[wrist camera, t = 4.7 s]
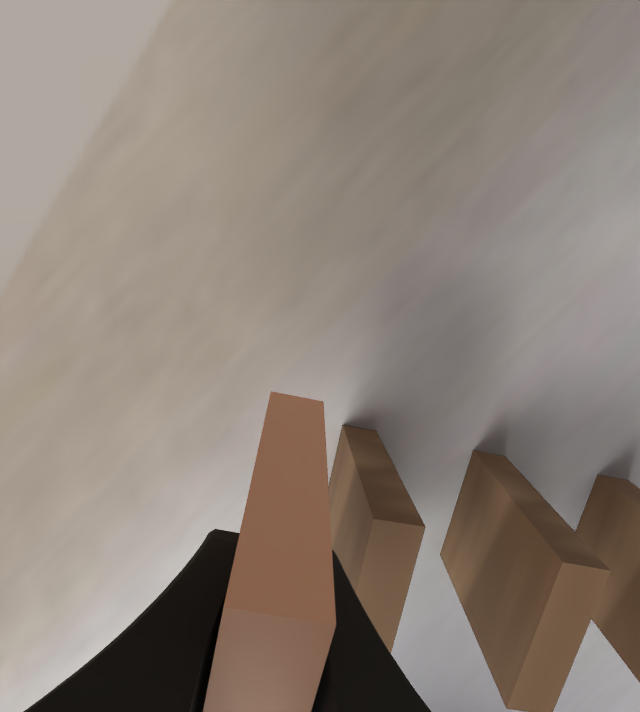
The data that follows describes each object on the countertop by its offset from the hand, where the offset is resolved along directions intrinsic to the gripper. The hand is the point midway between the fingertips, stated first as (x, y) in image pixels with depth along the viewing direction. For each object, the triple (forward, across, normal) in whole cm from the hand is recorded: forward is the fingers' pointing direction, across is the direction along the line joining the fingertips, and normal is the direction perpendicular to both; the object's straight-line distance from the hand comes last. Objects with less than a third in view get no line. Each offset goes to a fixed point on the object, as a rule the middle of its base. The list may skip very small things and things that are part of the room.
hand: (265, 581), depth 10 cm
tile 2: (+9, -3, +2) cm, 10 cm away
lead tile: (+4, 0, 0) cm, 4 cm away
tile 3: (+9, -9, +2) cm, 13 cm away
